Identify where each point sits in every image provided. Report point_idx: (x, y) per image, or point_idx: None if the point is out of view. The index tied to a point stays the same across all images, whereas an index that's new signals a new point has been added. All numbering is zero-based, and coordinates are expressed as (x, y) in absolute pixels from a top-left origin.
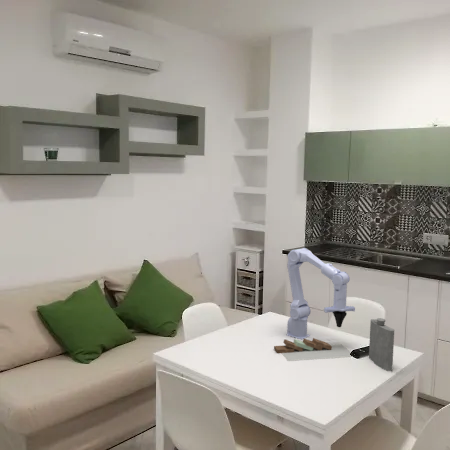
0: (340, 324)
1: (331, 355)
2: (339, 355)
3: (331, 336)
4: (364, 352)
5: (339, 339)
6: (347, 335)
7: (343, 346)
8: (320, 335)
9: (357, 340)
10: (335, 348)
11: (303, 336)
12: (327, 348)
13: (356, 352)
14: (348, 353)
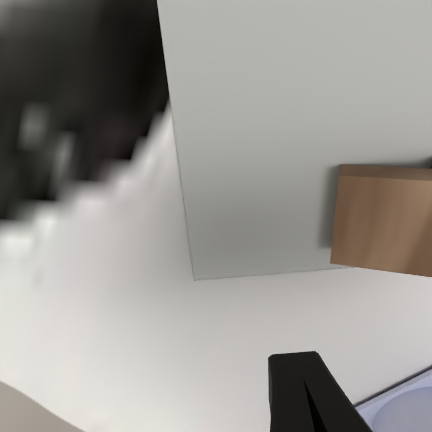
0: (301, 392)
1: (410, 14)
2: (327, 5)
3: (211, 403)
4: (31, 92)
5: (174, 361)
6: (98, 413)
7: (196, 232)
8: None
9: (45, 342)
10: (283, 195)
11: (421, 394)
12: (381, 167)
13: (113, 99)
14: (209, 57)
